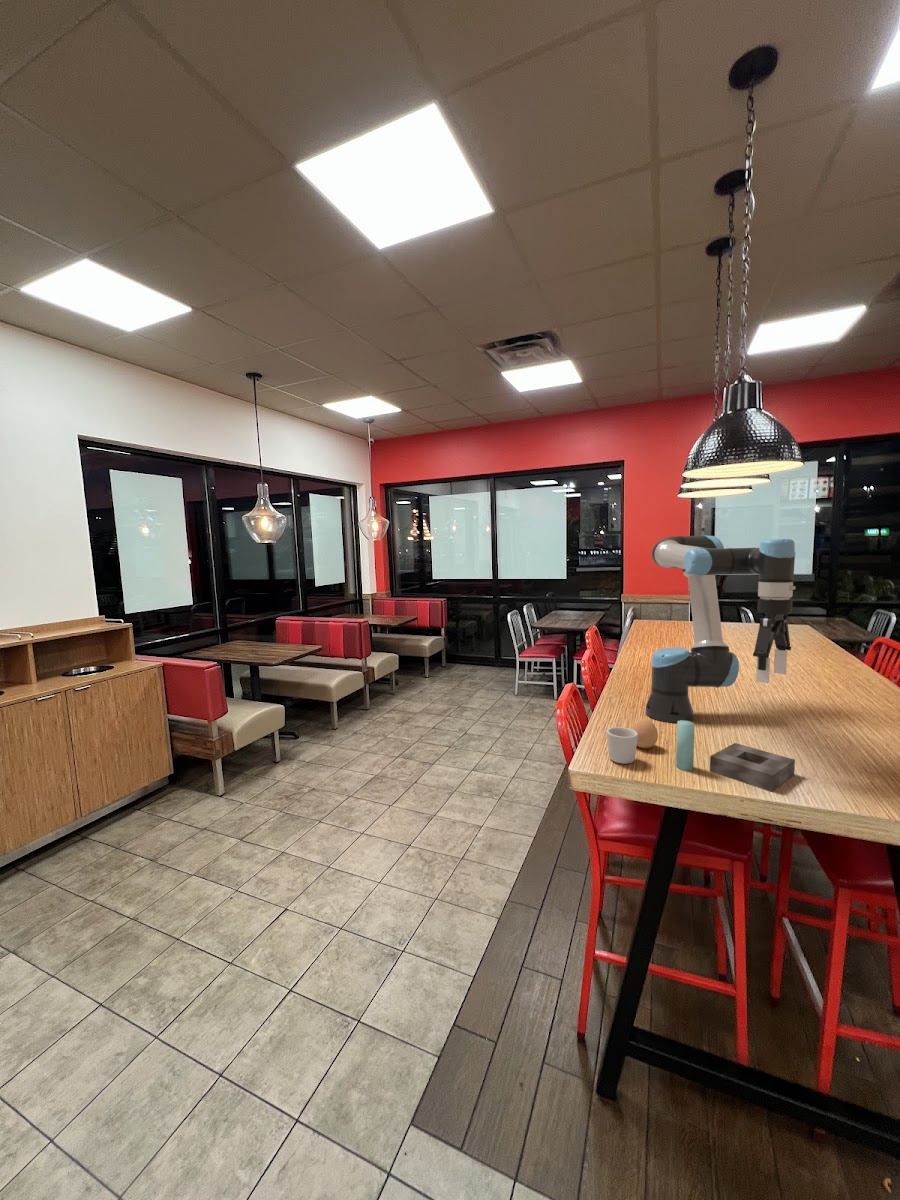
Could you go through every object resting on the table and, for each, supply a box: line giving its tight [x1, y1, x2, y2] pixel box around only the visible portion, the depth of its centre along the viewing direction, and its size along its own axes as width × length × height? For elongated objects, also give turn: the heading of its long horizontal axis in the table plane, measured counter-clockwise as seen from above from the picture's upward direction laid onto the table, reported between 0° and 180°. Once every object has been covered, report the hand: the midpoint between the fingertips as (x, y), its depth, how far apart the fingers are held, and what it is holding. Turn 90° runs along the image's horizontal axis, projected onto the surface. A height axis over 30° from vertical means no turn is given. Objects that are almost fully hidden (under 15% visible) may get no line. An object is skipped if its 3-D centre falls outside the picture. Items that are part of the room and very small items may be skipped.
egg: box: [630, 717, 659, 749], centre depth 137 cm, size 7×7×8 cm
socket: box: [709, 742, 796, 793], centre depth 120 cm, size 14×14×4 cm
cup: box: [606, 726, 638, 765], centre depth 130 cm, size 11×8×8 cm
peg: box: [675, 720, 695, 772], centre depth 124 cm, size 4×4×12 cm
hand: (771, 677), depth 126 cm, fingers open, 13 cm apart
